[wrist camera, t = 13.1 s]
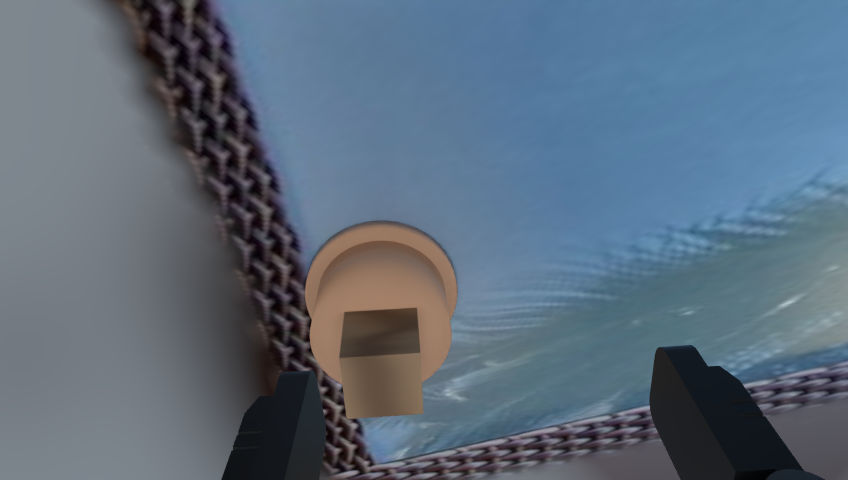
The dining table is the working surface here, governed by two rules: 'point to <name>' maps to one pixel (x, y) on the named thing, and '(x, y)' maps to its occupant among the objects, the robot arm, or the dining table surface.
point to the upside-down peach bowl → (381, 288)
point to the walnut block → (381, 363)
